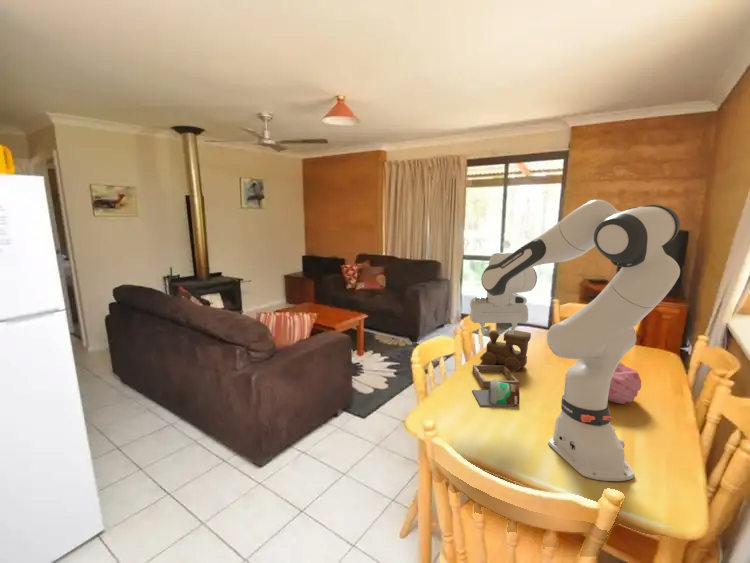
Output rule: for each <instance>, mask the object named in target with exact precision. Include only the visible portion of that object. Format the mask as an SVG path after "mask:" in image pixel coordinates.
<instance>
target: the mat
mask: <svg viewBox="0 0 750 563" xmlns="http://www.w3.org/2000/svg"><path fill="white" fill-rule="evenodd" d="M471 392H472V394H473V393H474V394H473V395H474V397H476V398H475V400H476V401H477V403H478V405H479V407H482V408H485V407H486V408H489V407H491V408H495V407H496V408H514V407H515V404H502V403H496V404H494V403H490V399H491V389H472V390H471Z"/></svg>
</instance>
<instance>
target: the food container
mask: <svg viewBox="0 0 750 563" xmlns="http://www.w3.org/2000/svg"><path fill="white" fill-rule="evenodd" d="M497 381H498V380H497V379H492V380H490V384H489V389H488V390H491V399H490V403H494V404H496V403H502V404H513V405H514V406H515V405H518V406H520V388H519V387H520V385H519V386H518V385H514V384H508V383H503V382H497Z"/></svg>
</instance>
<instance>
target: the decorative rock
mask: <svg viewBox="0 0 750 563" xmlns="http://www.w3.org/2000/svg"><path fill="white" fill-rule="evenodd" d="M641 389H642V380H641V377H640V374H639V373H638V372H637V371H636V370H635V369H633V368H631V367H628V366H626V365H624V364H623V363H622V362H621V361H620V362H619V364H618V366H617V368H616V370H615V372H614V374H613V376H612V379H611V382H610V388H609V395H608V401H610V402H611V403H615V404H621V405H625V404H627V403H630V402H631V403H632V402H633V401H634V400H635V398H636V397H637V396H638V395H639V394H638V393H639V392H638V391H641Z"/></svg>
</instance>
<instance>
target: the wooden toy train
mask: <svg viewBox="0 0 750 563" xmlns="http://www.w3.org/2000/svg"><path fill="white" fill-rule="evenodd" d="M531 335H532V333H531V332H528V331H523V330H516V329H515V330H514V334H513V335H509V334H508V330H506V331H505V333H504V334H503V341H502V342H501V341H497V340H498V339H499V337H500V334H499V333H498V331H497V330H494V329H493V330H491V331H490V332H489V333H488V336H489V339H490V341H488V342H487V343H486V349H485V350H486V351H485V352H483V354H481V356H480V357H479V358H480V361H481V362H482V363H483V365H497V364H499V365H505V366H506V367H507V369H508V370H509V371H510V372H512V373H513V372H514V373H516V372H518V371H520V369H524V368H525V367H526V365H527V363H528V356H527V353H528V348H529V347H528V346H529V342H530V340H531ZM514 346H516V347H518V348H519V350H516V349H515V348H514Z"/></svg>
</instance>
